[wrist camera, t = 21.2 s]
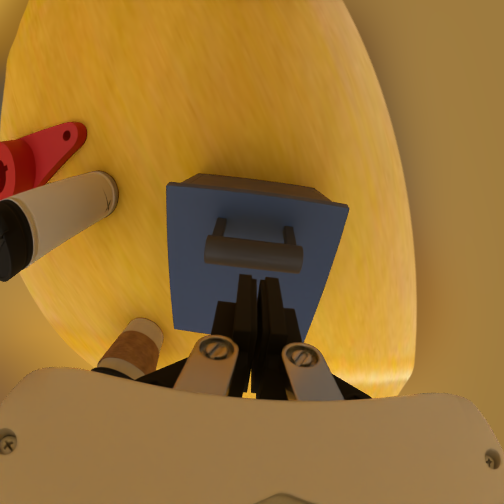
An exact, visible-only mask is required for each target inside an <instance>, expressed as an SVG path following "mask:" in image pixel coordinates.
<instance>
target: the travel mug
mask: <svg viewBox="0 0 504 504" xmlns="http://www.w3.org/2000/svg"><path fill="white" fill-rule="evenodd" d="M117 202H118V189H117V186H116V183H115V181H114V180H113V178H112V177H111V176H110V175H108V174H107V173H105V172H103V171H94V172H90V173H86V174H82V175H78V176H74V177H70V178H67V179H63V180H60V181H56V182H53V183H50V184H46V185H43V186H40V187H37V188H34V189H31V190H28V191H25V192H22V193H19V194H16V195H13V196H10V197H8V198H5V199H3V200H1V201H0V281H3V282H6V281H8V280H9V279H11V278H12V277H13V276H15V275H16V274H17V273H19V272H20V271H21V270H23V269H25V268H27V267H28V266H29V265H30V264H32V263H34V262H35V261H37V260H38V259H40V258H41V257H42V256H44V255H45V254H47V253H48V252H50V251H51V250H53V249H54V248H56V247H57V246H59V245H61V244H62V243H64V242H65V241H67V240H68V239H70V238H71V237H73V236H75V235H76V234H78V233H80V232H81V231H83V230H84V229H86V228H88V227H89V226H91V225H93V224H94V223H96V222H98V221H100V220H101V219H103V218H105V217H107V216H108V215H110V214H111V213H112V212H113V211H114V209H115V207H116V205H117Z"/></svg>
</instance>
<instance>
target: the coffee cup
mask: <svg viewBox="0 0 504 504" xmlns="http://www.w3.org/2000/svg"><path fill="white" fill-rule="evenodd" d="M162 342H163V333H162V331H161V329H160V328H159V327H158V326H157V325H156V324H155V323H154V322H152V321H150V320H148V319H144V318H137V319H134V320H132V321H131V322H130V323H129V324H128V326H127V327H126V328H125V330H124V331H123V332H122V333H121V335H120V336H119V337H118V338H117V339H116V341H115V342H114V343H113V344H112V346H111V347H110V348H109V349H108V351H107V352H106V353H105V354H104V356H103V357H102V358H101V360H100V361H99V362H98V365H97V368H94V369H92V370H91V371H95V372H99V373H103V374H107V375H111V376H115V377H120V378H124V379H129V380H133V381H134V380H136V379H137V378H139V377H141V376H144V375H147V374H149V373H152V372H154V371H155V370H156V366H157V362H158V358H159V353H160V349H161V346H162Z"/></svg>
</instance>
